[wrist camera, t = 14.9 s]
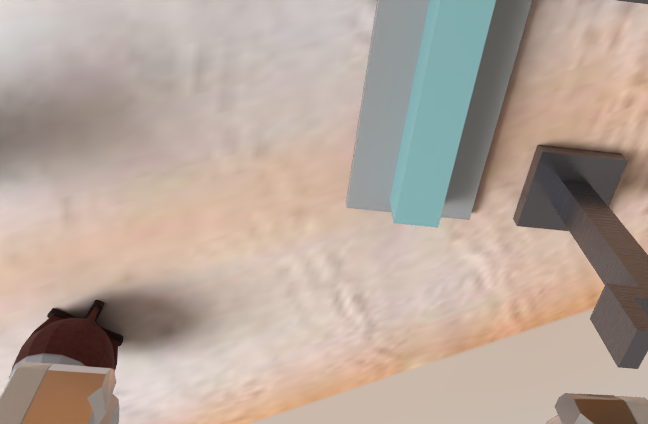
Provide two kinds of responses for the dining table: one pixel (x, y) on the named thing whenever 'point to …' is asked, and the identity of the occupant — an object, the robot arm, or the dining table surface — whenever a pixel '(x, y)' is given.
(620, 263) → the forked support stand
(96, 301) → the mate gourd
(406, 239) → the dining table surface
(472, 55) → the rail
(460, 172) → the mat
